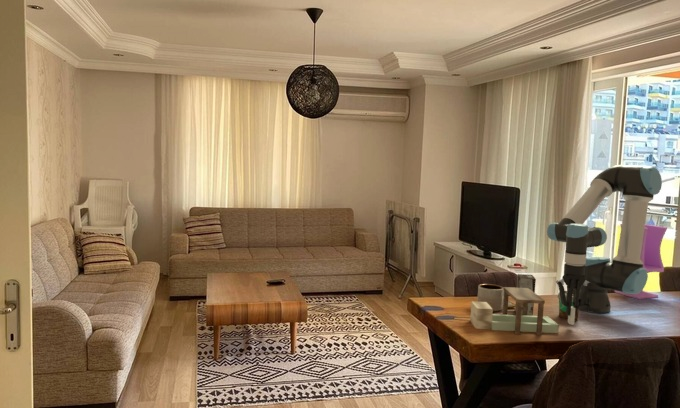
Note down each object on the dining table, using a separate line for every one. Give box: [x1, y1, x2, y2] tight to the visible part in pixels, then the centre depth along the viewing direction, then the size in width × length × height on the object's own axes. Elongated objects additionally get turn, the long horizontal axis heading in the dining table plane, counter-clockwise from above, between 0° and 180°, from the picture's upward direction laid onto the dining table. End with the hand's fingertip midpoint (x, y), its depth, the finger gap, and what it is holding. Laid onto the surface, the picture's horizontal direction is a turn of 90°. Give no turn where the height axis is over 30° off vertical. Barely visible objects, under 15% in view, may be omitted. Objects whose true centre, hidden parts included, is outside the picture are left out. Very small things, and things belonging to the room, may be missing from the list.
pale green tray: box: [491, 313, 560, 334], centre depth 210 cm, size 25×12×3 cm, turn 88°
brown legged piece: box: [502, 286, 545, 336], centre depth 210 cm, size 10×19×13 cm, turn 178°
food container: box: [556, 290, 580, 322], centre depth 225 cm, size 12×6×10 cm, turn 5°
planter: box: [476, 283, 504, 312], centre depth 235 cm, size 11×11×10 cm
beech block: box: [469, 301, 494, 330], centre depth 211 cm, size 6×10×8 cm, turn 178°
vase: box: [614, 223, 668, 300], centre depth 269 cm, size 16×16×35 cm
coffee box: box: [514, 273, 537, 316], centre depth 228 cm, size 9×6×16 cm
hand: (570, 323), depth 210 cm, fingers closed
